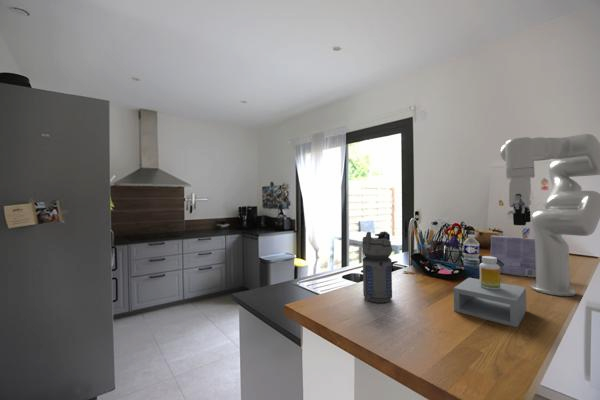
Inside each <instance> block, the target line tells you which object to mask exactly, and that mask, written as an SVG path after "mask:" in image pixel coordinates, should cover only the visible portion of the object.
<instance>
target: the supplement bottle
mask: <svg viewBox="0 0 600 400" xmlns="http://www.w3.org/2000/svg"><path fill="white" fill-rule="evenodd" d="M496 263H497V258H496V257H491V255H484V256H481V263H479V268H478V269H479V279H480V286H481V287H483V288H486V289H491V290H498V289H500V283H501V273H500V266H499V265H497V264H496Z"/></svg>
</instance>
